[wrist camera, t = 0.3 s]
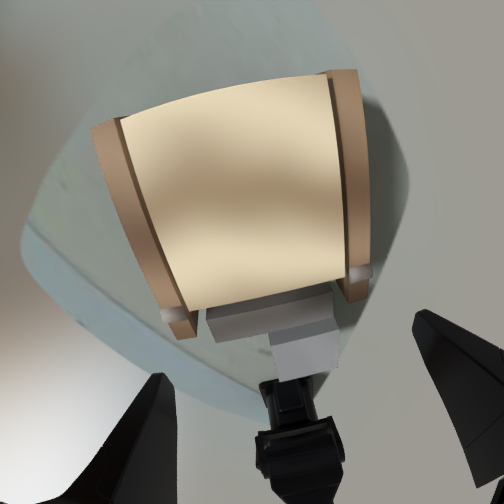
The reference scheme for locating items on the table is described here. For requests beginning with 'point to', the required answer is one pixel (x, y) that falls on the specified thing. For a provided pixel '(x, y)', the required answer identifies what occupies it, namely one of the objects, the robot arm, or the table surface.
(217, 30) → the table surface
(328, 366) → the light grey block
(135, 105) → the table surface
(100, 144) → the frame
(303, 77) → the trapdoor
